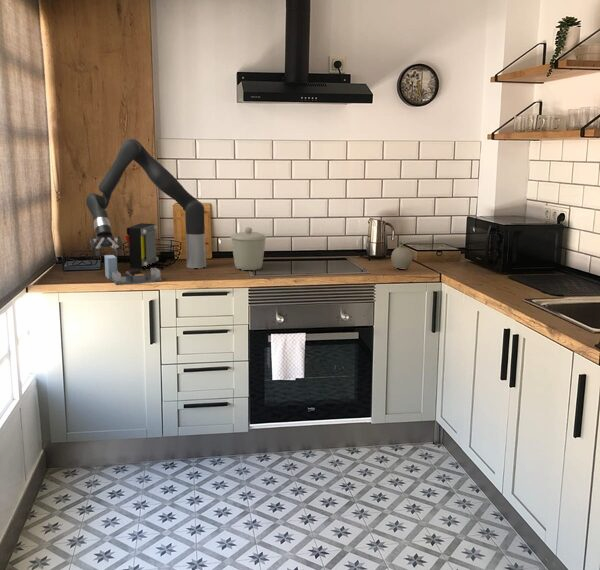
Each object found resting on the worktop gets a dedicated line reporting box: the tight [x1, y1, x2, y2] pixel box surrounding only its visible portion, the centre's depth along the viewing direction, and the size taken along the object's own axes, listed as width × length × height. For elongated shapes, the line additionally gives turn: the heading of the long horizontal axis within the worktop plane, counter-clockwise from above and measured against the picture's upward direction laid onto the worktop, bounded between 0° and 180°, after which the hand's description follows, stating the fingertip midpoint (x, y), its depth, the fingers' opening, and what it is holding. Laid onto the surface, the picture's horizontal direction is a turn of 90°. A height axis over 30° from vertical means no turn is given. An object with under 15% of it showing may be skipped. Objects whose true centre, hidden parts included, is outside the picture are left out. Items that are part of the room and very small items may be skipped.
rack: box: [110, 267, 163, 286], centre depth 322 cm, size 12×21×4 cm, turn 116°
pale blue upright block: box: [103, 254, 118, 280], centre depth 327 cm, size 8×4×10 cm, turn 26°
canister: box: [229, 226, 268, 271], centre depth 350 cm, size 18×18×21 cm
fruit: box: [390, 241, 413, 269], centre depth 356 cm, size 10×12×15 cm
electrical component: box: [125, 222, 159, 269], centre depth 356 cm, size 18×10×20 cm, turn 168°
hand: (108, 256), depth 330 cm, fingers open, 8 cm apart
